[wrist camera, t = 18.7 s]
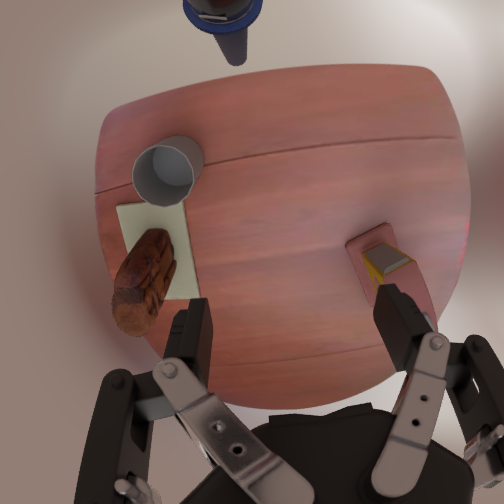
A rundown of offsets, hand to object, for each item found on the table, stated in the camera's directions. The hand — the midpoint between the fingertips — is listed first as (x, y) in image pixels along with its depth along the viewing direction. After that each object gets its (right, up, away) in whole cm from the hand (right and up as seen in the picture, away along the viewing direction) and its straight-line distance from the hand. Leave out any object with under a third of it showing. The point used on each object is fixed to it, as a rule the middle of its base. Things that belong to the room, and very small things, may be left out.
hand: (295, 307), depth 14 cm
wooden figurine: (-18, +2, +39) cm, 43 cm away
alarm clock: (+23, 0, +42) cm, 48 cm away
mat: (-19, +2, +40) cm, 44 cm away
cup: (-14, +17, +32) cm, 39 cm away
